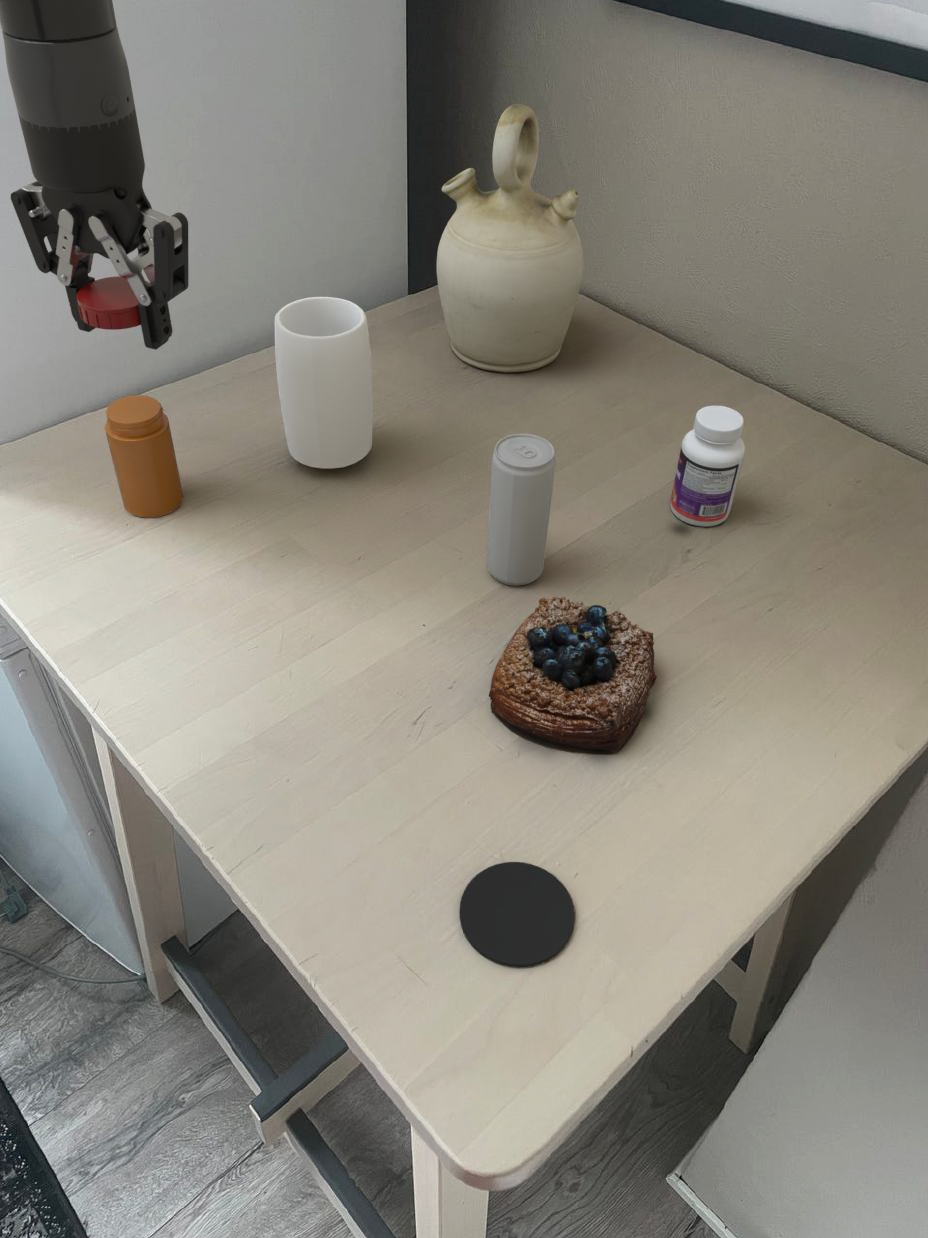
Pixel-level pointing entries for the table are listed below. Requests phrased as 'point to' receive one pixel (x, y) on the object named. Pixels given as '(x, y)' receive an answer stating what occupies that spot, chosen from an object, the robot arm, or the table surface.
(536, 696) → the pastry
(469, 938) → the coaster
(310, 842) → the table surface
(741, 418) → the pill bottle
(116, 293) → the jar lid
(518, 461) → the beverage can
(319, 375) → the cup
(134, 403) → the jam jar
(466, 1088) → the table surface
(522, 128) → the jug
